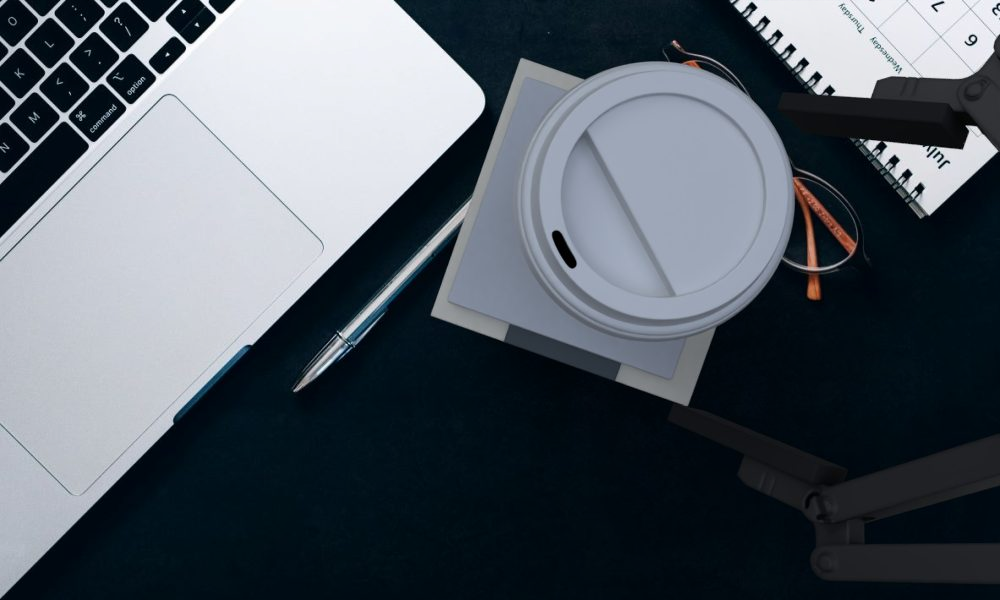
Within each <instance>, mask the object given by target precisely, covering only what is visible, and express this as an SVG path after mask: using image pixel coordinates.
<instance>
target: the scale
mask: <svg viewBox="0 0 1000 600" xmlns="http://www.w3.org/2000/svg"><path fill="white" fill-rule="evenodd" d="M584 80H585V79H584V78H580V77H578V76H575V75H572V74H569V73H566V72H563V71H561V70H557V69H555V68H552V67H549V66H546V65H543V64H540V63H537V62H534V61H532V60H529V59H526V58H524V57H520V59H519V61H518V65H517V68H516V70H515V73H514V75H513V79H512V81H511V85H510V88H509V90H508V93H507V96H506V99H505V102H504V104H503V107H502V110H501V113H500V116H499V119H498V121H497V125H496V127H495V131H494V134H493V136H492V139H491V141H490V145H489V148H488V150H487V153H486V156H485V159H484V162H483V165H482V168H481V171H480V173H479V176H478V179H477V182H476V185H475V187H474V189H473V193H472V196H471V199H470V202H469V204H468V207H467V210H466V214H465V216H464V219H463V221H462V225H461V227H460V230H459V233H458V235H457V239H456V242H455V244H454V247H453V249H452V253H451V256H450V259H449V261H448V265H447V267H446V270H445V273H444V276H443V278H442V282H441V285H440V287H439V290H438V293H437V296H436V299H435V302H434V304H433V307H432V309H431V312H430V316H431V317H433V318H436V319H438V320H441V321H444V322H447V323H450V324H453V325H455V326H458V327H460V328H461V327H462V328H464V329H467V330H470V331H473V332H475V333H478V334H481V335H484V336H486V337H490V338H492V339H496V340H498V341H501V342H503V343H505V344H507V345H511V346H513V347H517V348H518V349H519V348H520V349H522V350H525V351H528V352H530V353H534V354H536V355H539V356H542V357H544V358H546V359H549V360H553V361H556V362H557V363H561V364H565V365H567V366H570V367H573V368H576V369H579V370H582V371H584V372H587V373H590V374H593V375H595V376H598V377H601V378H603V379H607V380H609V381H613V382H616V383H617V382H618V383H620V384H622V385H624V386H629V387H631V388H634V389H637V390H639V391H642V392H645V393H648V394H651V395H653V396H657V397H659V398H662V399H666V400H667V401H671V402H673V403H675V404H678V405H682V406H686V407H689V404H690V402H691V398H692V396H693V393H694V390H695V387H696V385H697V382H698V379H699V376H700V373H701V371H702V368H703V366H704V362H705V359H706V357H707V354H708V351H709V349H710V345H711V343H712V340H713V337H714V334H715V332H716V329H717V327H715V328H713V329H710V330H708V331H706V332H703V333H701V334H698V335H695V336H691V337H688V338H684V339H679V340H673V341H664V342H641V341H632V340H626V339H621V338H617V337H614V336H610V335H607V334H604V333H602V332H599V331H597V330H595V329H593V328H590V327H588V326H587V325H585V324H583V323H581V322H579V321H578V320H576V319H575V318H573V317H572V316H571V315H569V314H568V313H567V312H565V311H564V310H563V309H562V308H560V307H559V306H558V305H557V304H556V303H555V302H554V301H553V300H552V299H551V298H550V297H549V296H548V295H547V293H546V292H545V291H544V290H543V289H542V287H541V286H540V285H539V283H538V282H537V280H536V279H535V277H534V276H533V274H532V272H531V271H530V269H529V267H528V265H527V263H526V261H525V258H524V256H523V254H522V251H521V248H520V245H519V242H518V238H517V234H516V230H515V224H514V216H513V189H514V181H515V176H516V171H517V167H518V163H519V160H520V157H521V154H522V152H523V149H524V147H525V144H526V142H527V140H528V138H529V136H530V135H531V133H532V131H533V129H534V128H535V126H536V125H537V123H538V122H539V120H540V119H541V118H542V116H543V115H544V114H545V113H546V111H547V110H548V109H549V108H550V107H551V106H552V105H553V104H554V103H555V102H556V101H557V100H558V99H559V98H560V97H561V96H563V95H564V94H565V93H566V92H567V91H569V90H570V89H571V88H573V87H574V86H576V85H577V84H579V83H580V82H582V81H584Z"/></svg>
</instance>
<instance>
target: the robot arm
mask: <svg viewBox="0 0 1000 600" xmlns="http://www.w3.org/2000/svg"><path fill="white" fill-rule="evenodd" d="M992 48H993V52H992V54H991V55H990V56H989V57H988V58H987V60H986V61H985V62H984V63H983V64H982V66H981V67H980V68H979V69H978V70H977V71H976V72H974V73H973V74H970V75H969V76H968V75H967V76H966V77H962V78H943V77H942V78H941V77H923V76H922V77H921V76H919V77H917V76H902V75H901V76H899V75H897V76H896V75H890V76H886V77H883V78H880V79H877V80H876V81H875V84H874V88H873V91H872V92H871V95H870V97H863V96H847V95H846V96H845V95H830V94H816V93H815V94H814V93H801V92H787V91H786V92H784V91H783V92H781V96H780V98H779V102H778V104H777V108H776V111H777V112H779V113H780V114H781V115H782V116H783V117H784V118H785V119H787V120H788V121H789V122H791V123H792V124H793V125H794V126H795V127H796V128H797V129H798V130H800V131H801V133H803V134H807V135H815V136H817V135H818V136H826V137H834V138H835V137H837V138H846V139H856V140H864V141H872V142H873V141H875V142H883V143H884V142H885V143H893V144H904V145H912V146H920V147H921V146H922V147H923V146H924V147H931V148H942V149H952V150H960V151H961V150H962V151H963V150H964V148H965V145H966V143H967V140H968V137H969V135H970V129H969V128H968V127H976V128H977V129H978V131H980V133H981V134H982V136H984V137H985V138H986V139H987V141H989V142H990V144H991V145H992V146H993V147H994V149H996V151H998V153H999V154H1000V33H999V34H998V35H997V36H996V37H995V39H994V41H993V47H992ZM666 420H667V421H668V422H670V423H672V424H674V425H677V426H679V427H682V428H684V429H686V430H689V431H691V432H693V433H696V434H697V435H700V436H702V437H705V438H707V439H709V440H711V441H713V442H716V443H718V444H719V445H720V444H721V445H723V446H725V447H727V448H730V449H732V450H735V451H737V452H739V453H741V454H743V456H742V460H741V463H740V466H739V468H738V472H737V474H736V476H737V477H738V478H739V479H740V480H741V481H742V483H744V485H745V486H747V487H749V488H752V489H754V490H756V491H758V492H760V493H762V494H764V495H766V496H769V497H770V498H772V499H775V500H777V501H779V502H781V503H783V504H785V505H787V506H790V507H792V508H794V509H797V510H799V511H801V512H802V513H803V515H804V517H806V518H807V519H808V520H809V521H810V522H812V523H813V527H814V531H815V548H814V549H813V550H812V552H811V554H810V556H809V564H810V567H811V570H812V572H813V573H814V574H815V576H817V577H818V578H820V579H821V580H823V581H829V582H865V583H867V582H873V583H875V582H876V583H912V584H913V583H917V584H918V583H919V584H920V583H921V584H959V585H960V584H963V585H964V584H965V585H966V584H967V585H1000V542H982V543H981V542H977V543H976V542H975V543H974V542H973V543H969V542H968V543H965V542H964V543H865V524H867V523H871V522H874V521H878V520H882V519H885V518H890V517H893V516H895V515H900V514H903V513H907V512H910V511H914V510H917V509H922V508H924V507H927V506H931V505H935V504H938V503H939V504H940V503H943V502H945V501H949V500H954V499H957V498H960V497H964V496H967V495H971V494H974V493H977V492H980V491H981V492H982V491H984V490H985V491H986V490H988V489H992V488H995V487H1000V432H998V433H996V434H992V435H989V436H987V437H983V438H980V439H977V440H974V441H969V442H967V443H964V444H960V445H957V446H955V447H951V448H948V449H945V450H942V451H939V452H936V453H933V454H929V455H926V456H922V457H920V458H917V459H916V458H915V459H913V460H910V461H907V462H904V463H901V464H897V465H893V466H891V467H888V468H884V469H881V470H879V471H878V470H877V471H875V472H871V473H869V474H866V475H863V476H860V477H856V478H852V479H851V480H847V481H845V480H846V477H847V474H848V472H849V468H845V467H843V466H841V465H838V464H836V463H834V462H831V461H828V460H826V459H824V458H821V457H818V456H817V455H814V454H811V453H809V452H807V451H804V450H801V449H799V448H797V447H794V446H791V445H790V444H787V443H784V442H782V441H779V440H777V439H775V438H772V437H770V436H768V435H765V434H763V433H760V432H758V431H755V430H754V429H753V430H752V429H750V428H748V427H745V426H743V425H741V424H738V423H736V422H733V421H732V420H731V421H730V420H729V419H726V418H723V417H721V416H718V415H716V414H713V413H711V412H709V411H706V410H702V409H698V408H694V407H690V406H685V405H682V404H679V403H675V402H673V403H672V405H671V408H670V411H669V413H668V416H667V419H666Z"/></svg>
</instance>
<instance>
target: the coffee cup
mask: <svg viewBox="0 0 1000 600" xmlns="http://www.w3.org/2000/svg"><path fill="white" fill-rule="evenodd" d="M794 183H795V182H794V175H793V171H792V166H791V163H790V159H789V155H788V153H787V150H786V148H785V145H784V143H783V140H782V139H781V137H780V135H779V133H778V131H777V130H776V128H775V125H773V123H772V122H771V120H770V118H769V117H768V116H767V114H766V113H765V112H764V111H763V110H762V109H761V107H760V106H759V105H758V104H757V103H756V102H755V101H754V99H752V98H751V97H750V96H749V95H747V94H746V93H745V92H744V91H743V90H741V89H740V88H739V87H737V86H735V85H734V83H732V82H729V81H728V80H727V79H726V78H723V77H721V76H719V75H717V74H716V73H715V74H714V73H713V72H710V71H708V70H705V69H702V68H700V67H696V66H694V65H693V66H692V65H689V64H685V63H678V62H671V61H642V62H641V61H640V62H633V63H627V64H623V65H618V66H615V67H611V68H608V69H605V70H602V71H600V72H598V73H596V74H594V75H591V76H589V77H587V78H586V79H584V81H582V82H580V83H579V84H577V85H576V86H574V87H573V88H571V89H570V90H569V91H567V92H566V93H565V94H564V95H563V96H561V97H560V98H559V99H558V100H557V101H556V102H555V103H554V104H553V105H552V106H551V107H550V108H549V109H548V110H547V111H546V113H545V114H544V115H543V116H542V118H541V119H540V120H539V122H538V123H537V125H536V126H535V128H534V129H533V131H532V133H531V135H530V136H529V138H528V140H527V142H526V144H525V147H524V149H523V152H522V154H521V157H520V160H519V163H518V167H517V171H516V176H515V181H514V189H513V216H514V224H515V230H516V234H517V238H518V242H519V245H520V248H521V251H522V254H523V256H524V258H525V261H526V263H527V265H528V267H529V269H530V271H531V272H532V274H533V276H534V277H535V279H536V280H537V282H538V283H539V285H540V286H541V287H542V289H543V290H544V291H545V292H546V293H547V295H548V296H549V297H550V298H551V299H552V300H553V301H554V302H555V303H556V304H557V305H558V306H559V307H560V308H562V309H563V310H564V311H565V312H567V313H568V314H569V315H571V316H572V317H573V318H575V319H576V320H578V321H579V322H581V323H583V324H585V325H587V326H588V327H590V328H593V329H595V330H597V331H599V332H602V333H604V334H607V335H610V336H614V337H617V338H621V339H626V340H632V341H641V342H664V341H673V340H679V339H684V338H688V337H691V336H695V335H698V334H701V333H703V332H706V331H708V330H710V329H713V328H715V327H716V328H717V327H719V326H720V325H722V324H724V323H726V322H727V321H729V320H731V319H732V318H733V317H735V316H736V315H738V314H739V313H740V312H741V311H743V310H744V309H745V308H746V307H747V306H749V304H751V303H752V302H753V300H755V298H756V297H757V296H759V294H760V293H761V292H762V290H763V289H764V288H765V287H766V285H767V284H768V283H769V282H770V280H771V278H772V277H773V275H774V273H775V272H776V270H777V269H778V266H779V265H780V264H781V260H782V259H783V256H784V254H785V251H786V249H787V246H788V243H789V241H790V237H791V233H792V230H793V223H794V218H795V205H796V203H795V202H796V201H795V200H796V197H795V193H796V192H795V184H794Z"/></svg>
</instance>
